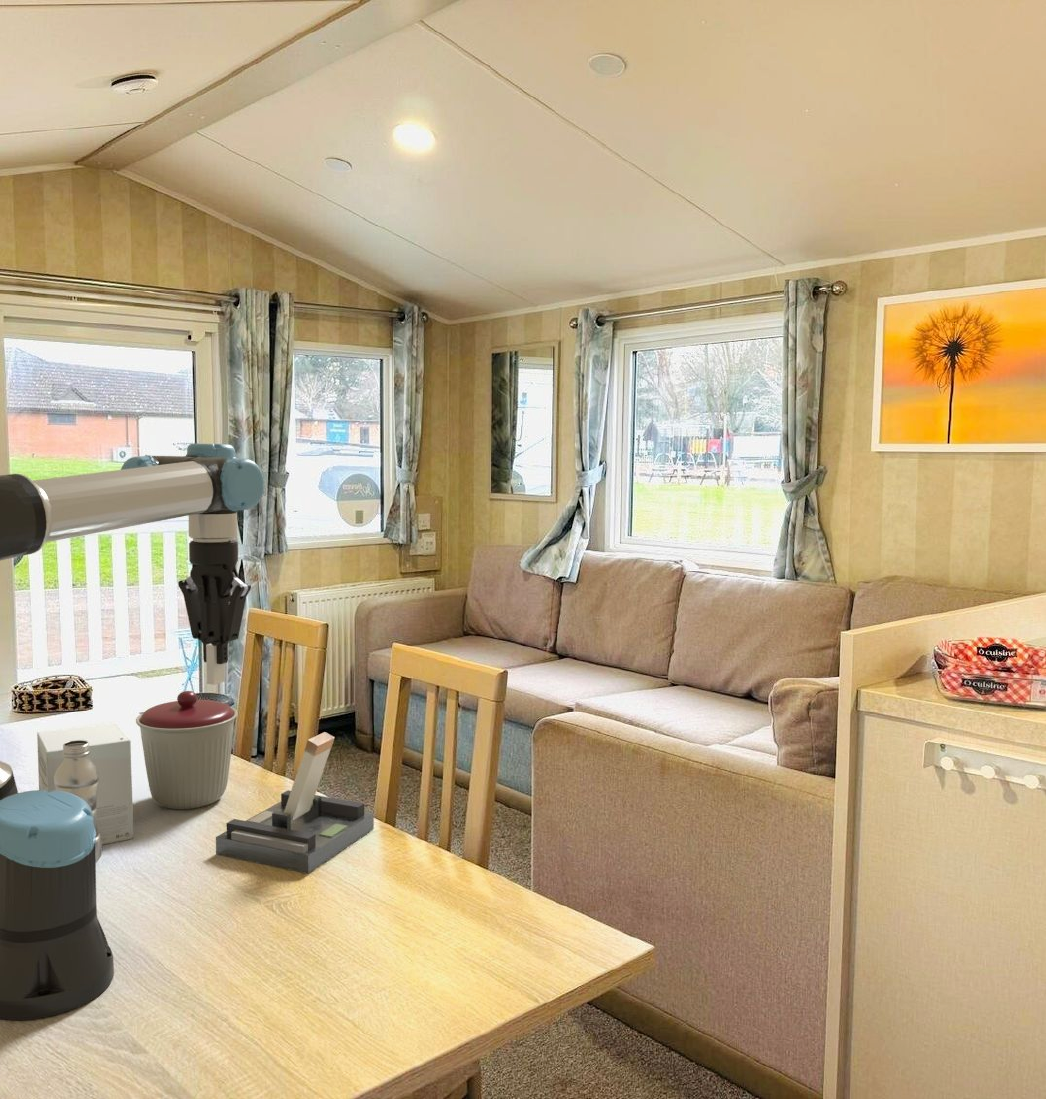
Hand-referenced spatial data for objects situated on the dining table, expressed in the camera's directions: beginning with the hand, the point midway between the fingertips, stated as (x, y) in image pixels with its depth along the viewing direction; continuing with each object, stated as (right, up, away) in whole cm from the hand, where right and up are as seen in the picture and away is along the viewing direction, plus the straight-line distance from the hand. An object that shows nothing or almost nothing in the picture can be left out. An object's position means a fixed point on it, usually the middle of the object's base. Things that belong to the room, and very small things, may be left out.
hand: (216, 682), depth 160 cm
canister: (-13, -26, +25) cm, 38 cm away
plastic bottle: (-21, -29, -4) cm, 36 cm away
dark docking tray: (+12, -25, +6) cm, 28 cm away
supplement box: (-25, -28, +9) cm, 38 cm away
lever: (+12, -23, +6) cm, 26 cm away
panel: (+12, -28, +7) cm, 31 cm away
